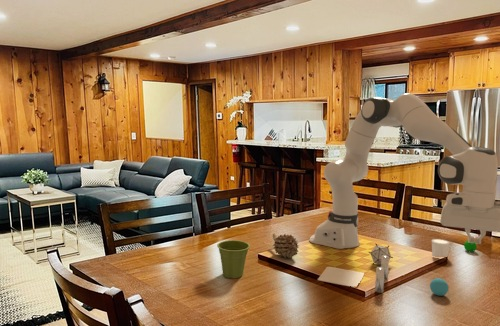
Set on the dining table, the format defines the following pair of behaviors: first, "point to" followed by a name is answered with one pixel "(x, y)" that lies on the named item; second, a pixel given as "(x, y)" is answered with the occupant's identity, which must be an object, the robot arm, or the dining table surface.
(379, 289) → the post
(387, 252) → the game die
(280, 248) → the pine cone
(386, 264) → the post
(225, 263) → the plant pot
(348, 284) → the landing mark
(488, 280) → the dining table surface
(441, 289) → the ball
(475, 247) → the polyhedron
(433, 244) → the white cylinder
